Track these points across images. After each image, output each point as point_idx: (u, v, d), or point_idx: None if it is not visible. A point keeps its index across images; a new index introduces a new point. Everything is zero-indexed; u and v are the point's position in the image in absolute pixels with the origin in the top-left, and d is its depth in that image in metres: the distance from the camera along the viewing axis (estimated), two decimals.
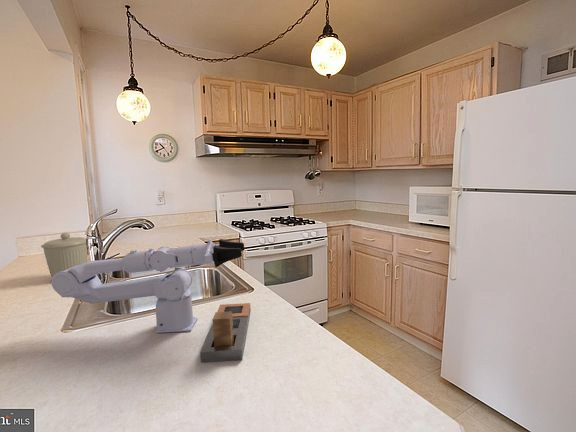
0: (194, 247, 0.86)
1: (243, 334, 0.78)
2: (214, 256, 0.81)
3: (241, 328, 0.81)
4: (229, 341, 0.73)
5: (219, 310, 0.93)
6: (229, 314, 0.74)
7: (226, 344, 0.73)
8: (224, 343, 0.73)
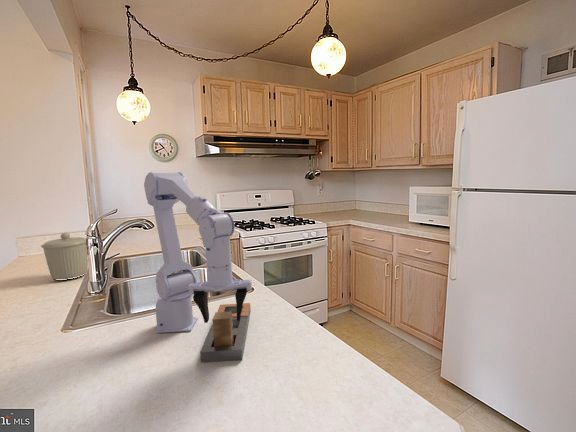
0: (211, 270, 0.70)
1: (243, 334, 0.78)
2: None
3: (241, 328, 0.81)
4: (229, 341, 0.73)
5: (219, 310, 0.93)
6: (229, 314, 0.74)
7: (226, 344, 0.73)
8: (224, 343, 0.73)
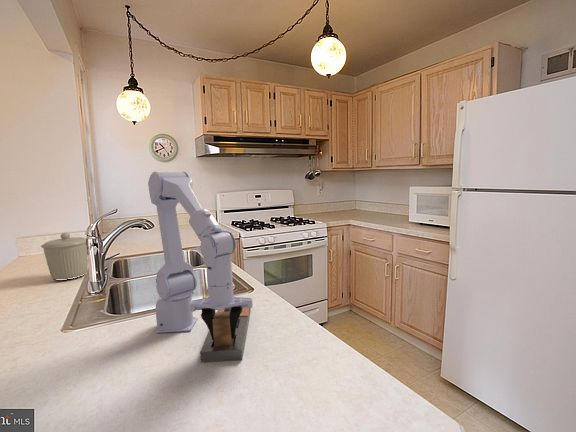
0: (212, 289, 0.71)
1: (243, 334, 0.78)
2: None
3: (241, 328, 0.81)
4: (229, 341, 0.73)
5: (219, 310, 0.93)
6: (229, 314, 0.74)
7: (226, 344, 0.73)
8: (224, 343, 0.73)
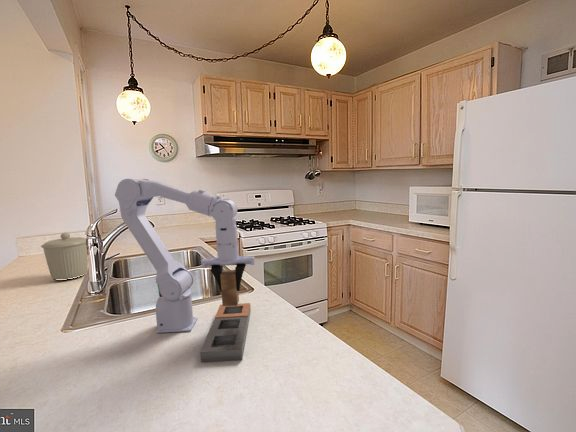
0: (220, 247, 0.83)
1: (243, 334, 0.78)
2: None
3: (241, 328, 0.81)
4: (235, 293, 0.85)
5: (219, 310, 0.93)
6: (234, 271, 0.86)
7: (232, 296, 0.85)
8: (231, 295, 0.85)
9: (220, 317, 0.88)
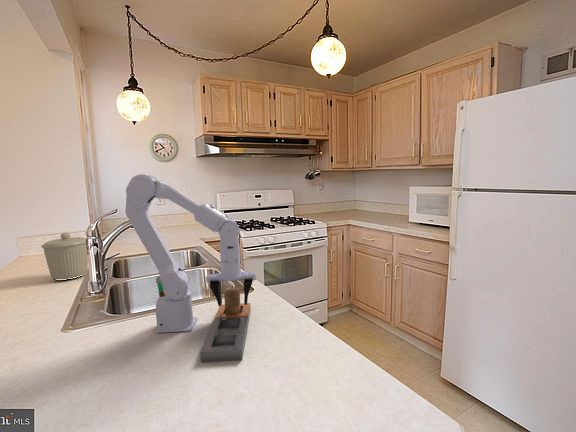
0: (224, 264, 0.89)
1: (243, 334, 0.78)
2: None
3: (241, 328, 0.81)
4: (237, 310, 0.90)
5: (219, 310, 0.93)
6: (237, 289, 0.92)
7: None
8: (234, 312, 0.90)
9: (220, 317, 0.88)
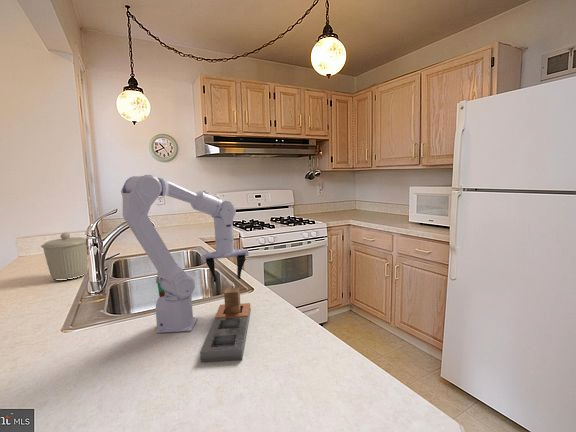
0: (220, 241, 0.96)
1: (243, 334, 0.78)
2: (206, 261, 0.98)
3: (241, 328, 0.81)
4: (237, 310, 0.90)
5: (219, 310, 0.93)
6: (237, 289, 0.92)
7: None
8: (234, 312, 0.90)
9: (220, 317, 0.88)
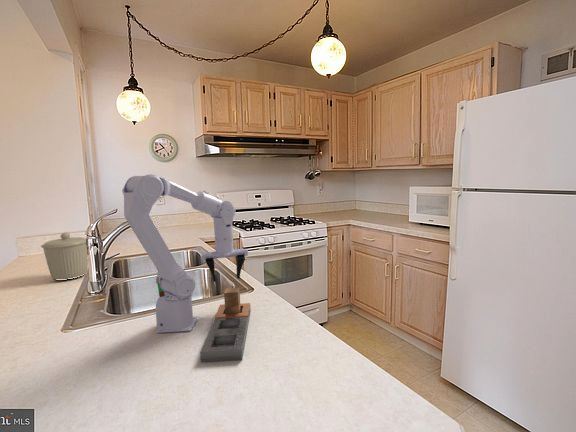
0: (220, 241, 0.97)
1: (243, 334, 0.78)
2: None
3: (241, 328, 0.81)
4: (237, 310, 0.90)
5: (219, 310, 0.93)
6: (237, 289, 0.92)
7: None
8: (233, 312, 0.90)
9: (220, 317, 0.88)
